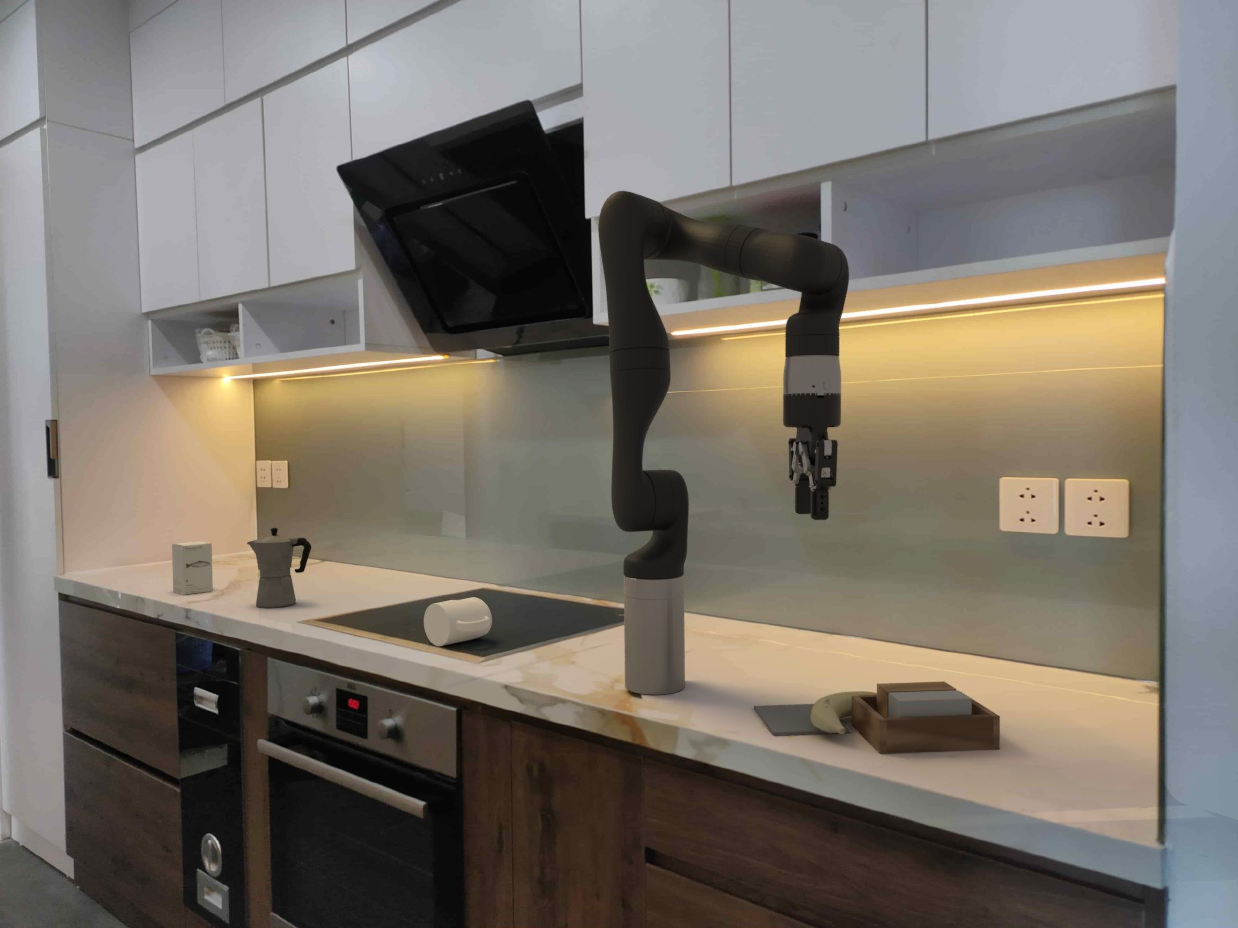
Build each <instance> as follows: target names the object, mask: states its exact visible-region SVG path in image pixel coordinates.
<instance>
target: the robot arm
mask: <svg viewBox="0 0 1238 928" xmlns="http://www.w3.org/2000/svg"><path fill="white" fill-rule="evenodd" d="M597 224H598V225H597V227H598V229H597V230H598V231H597V232H598V242H599V248H600V256H601V262H602V270H603V277H604V284H605V292H606V293H605V294H606V307H607V309H606V310H607V320H608V321H607V322H608V342H609V343H608V344H609V347H608V350H609V351H608V354H609V356H608V357H609V373H610V374H609V375H610V389H611V390H610V391H611V406H612V461H611V462H612V463H611V488H610V489H611V490H610V491H611V492H610V494H611V495H610V499H611V509H612V515H613V518H614V521H615V524H616V525H617V527H618V528H619V529H620V530H621V531H623V532H627V533H633V532H634V533H635V532H636V533H637V532H638V533H639V532H652V535H651V538H650V539H649V540H648V542H646V544H644V545H643V546H642V547H640V548H639V549H637V550H635V551H633V552H631V553H628V554H627V555H626V556H625V558H624V560H623V564H622V565H623V568H622V569H623V610H624V611H623V614H624V615H623V620H624V622H623V623H624V624H623V625H624V626H623V630H624V634H623V635H624V637H623V638H624V687H625V689H626V690H627V691H629V692H631V693H636V694H641V695H656V696H657V695H668V694H669V695H670V694H675V693H677V692H680V691H682V690H683V689H685V688H686V667H685V666H686V650H685V649H686V648H685V647H686V645H685V644H686V643H685V642H686V641H685V640H686V639H685V632H686V631H685V572H684V571H685V563H686V559H687V555H688V533H689V510H690V503H689V502H690V500H689V492H688V486H687V483H686V481H685V478H684V477H683V475H682V474H681V473H680V472H678V471H677V470H674V469H644V468H643V459H644V457H643V456H644V446H645V440H646V437H647V434H648V431H649V428H650V426H651V424H652V422H654V421H653V420H654V419H655V416H656V415H657V414H658V412H659V410H660V408H661V407H662V403H664V400H665V398H666V396H667V394H668V391H669V388H670V385H671V373H672V372H671V354H670V353H671V352H670V343H669V342H670V341H669V337H668V334H667V330H666V328H665V325H664V322H663V320H662V317H661V316H660V314H659V311H658V309H657V307H656V304H655V302H654V300H653V298H652V296H651V293H650V290H649V287H648V283H647V279H646V272H645V261H647V260H648V261H651V260H652V261H654V260H659V261H660V260H661V261H662V260H664V261H665V260H666V261H682V262H687V263H688V262H689V263H694V264H697V265H700V266H703V267H706V268H709V269H712V270H714V271H718V272H720V273H724V274H728V275H730V276H735V277H738V278H743V279H747V280H751V281H757V282H758V281H759V282H765V283H768V284H771V285H774V286H777V287H780V288H784V289H787V290H789V291H790V290H791V291H793V292H798V293H801V294H800V295H801V296H800V301H799V302H800V303H799V307H798V312H795V313H793V314H792V315H790V316H789V317H788V319H787V321H786V323H785V332H784V333H785V334H784V335H785V336H784V337H785V341H784V342H785V344H784V345H785V348H784V349H785V350H784V352H785V358H784V359H785V361H784V368H783V373H782V374H783V375H782V378H783V379H782V382H783V383H782V384H783V386H782V387H783V388H782V389H783V390H782V393H783V394H782V406H783V407H782V411H783V412H782V423H783V424H782V425H783V426H784V427H785V428H795V429H796V435H795V437H790V438H789V439H788V478H789V481H790V482H792V486H793V487H794V511H795V513H796V514H797V515H810V518H811V519H812V520H814V521H823V520H824V521H825V520H828V519H829V517H830V516H829V514H830V511H829V510H830V506H829V505H830V503H829V502H830V491H831V490H832V487H833V488H835V487H836V486H837V471H838V470H837V469H838V445H839V443H838V440H837V439H830V438H829V433H828V428H838V427H840V426H841V424H842V371H841V370H842V369H841V363H840V362H841V361H840V322H841V320H842V319H841V318H842V315H843V312H844V307H845V303H846V298H847V294H848V293H847V292H848V289H849V282H850V267H849V262H848V260H847V257H846V254H845V252H844V251H843V250H842V249H841V248H840V247H839V246H837V245H836V244H834V243H830V242H827V241H825V240H821V239H818V238H815V237H811V236H806V235H802V234H796V233H789V232H787V233H786V232H776V231H772V230H769V229H765V228H763V227H756V226H753V225H752V226H751V225H746V224H743V223H741V224H740V223H735V222H729V221H726V222H725V221H705V220H699V219H695V218H693V217H689V216H687V215H684V214H682V213H680V212H677V211H675V210H673V209H672V208H670V207H667V206H665V205H663V204H662V203H661V202H659V201H658V200H655V199H652V198H649V197H647V196H644V195H642V194H639V193H636V192H632V191H628V190H617V191H615V192H613V193H611V194H610V195H609V196H607V198H606V199H605V200H604V202H603V204H602V207H601V210H600V212H599V217H598V223H597Z"/></svg>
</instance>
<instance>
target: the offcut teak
mask: <svg viewBox="0 0 1238 928" xmlns="http://www.w3.org/2000/svg"><path fill="white" fill-rule="evenodd" d="M953 690H958V689H957V688H955V687H954V686H952V685H951V684H949V683H948V682H946V681H922V682H921V681H919V682H918V681H916V682H915V681H913V682H912V681H911V682H888V683H887V682H886V683H884V682H883V683H882V682H881V683H876V693H877V713H879V714H880V715H881V716H882V717H883V718H889V693H893V692H923V691H953Z"/></svg>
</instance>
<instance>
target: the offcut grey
mask: <svg viewBox="0 0 1238 928" xmlns="http://www.w3.org/2000/svg"><path fill="white" fill-rule="evenodd" d="M963 693H964V692H963V691H960V690H958V689H957V690H953V691H923V692H893V693H889V718H902V717H930V716H958V715H972V699H973V698H972V699H971V697H970V696H969V697H968V695H967V694H965V693H964V694H963Z"/></svg>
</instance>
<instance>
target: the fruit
mask: <svg viewBox="0 0 1238 928" xmlns="http://www.w3.org/2000/svg"><path fill="white" fill-rule="evenodd" d="M859 695H877V692H873V691H865V690H864V691H861V690H859V691H854V690H853V691H851V690H850V691H844V692H843V691H842V692H837V693H832V694H831V693H830V694H828V695H824V696H822V697H820V698H819V699H817V700H816V701H815V703H813V704H814V705H813V707H812V711H811V722H812V724H813V725H814V726H815V727H816V728H818V729H820V730H822V731H825V732H828V733H830V734H840V735H844V734H846V733H845V732H846V729H845V728H844V727H843V726H842V724H841V723H840V720H841V719H845V718H850V717H851V718H852V696H859ZM839 719H840V720H839ZM836 732H837V733H836Z"/></svg>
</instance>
